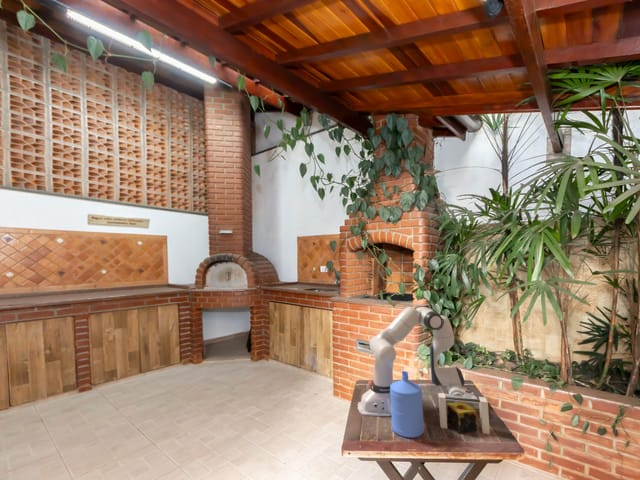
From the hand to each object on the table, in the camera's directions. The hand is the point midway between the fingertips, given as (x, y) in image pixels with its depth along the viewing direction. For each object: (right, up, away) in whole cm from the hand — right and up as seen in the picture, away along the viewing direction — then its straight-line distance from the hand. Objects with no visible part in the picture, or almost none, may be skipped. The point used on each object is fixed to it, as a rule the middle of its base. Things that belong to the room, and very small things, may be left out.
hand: (460, 408), depth 160 cm
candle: (-3, -5, -8) cm, 10 cm away
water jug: (-31, -6, -8) cm, 32 cm away
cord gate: (-3, -5, -9) cm, 11 cm away
